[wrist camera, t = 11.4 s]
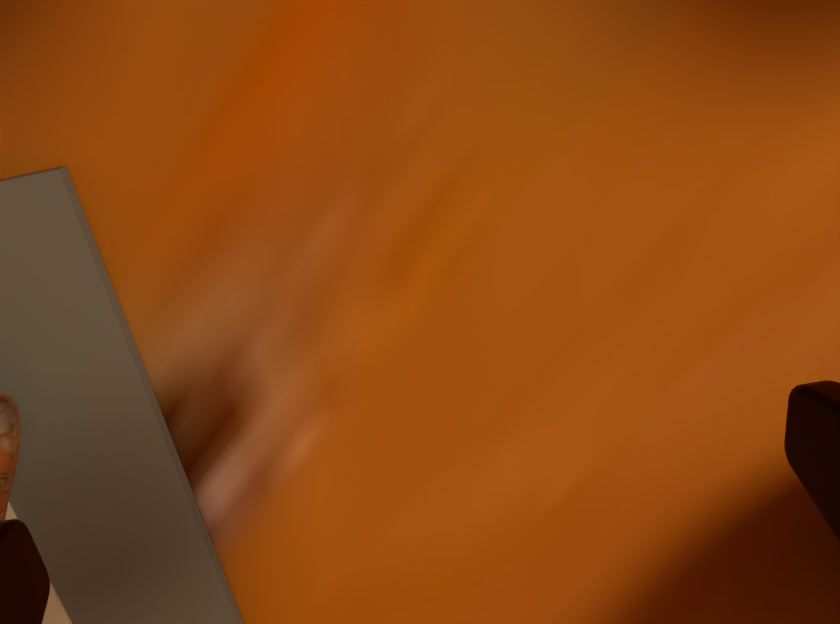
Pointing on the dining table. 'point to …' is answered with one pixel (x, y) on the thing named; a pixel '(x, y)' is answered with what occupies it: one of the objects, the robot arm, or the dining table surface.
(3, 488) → the tin
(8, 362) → the mat
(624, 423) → the dining table surface
